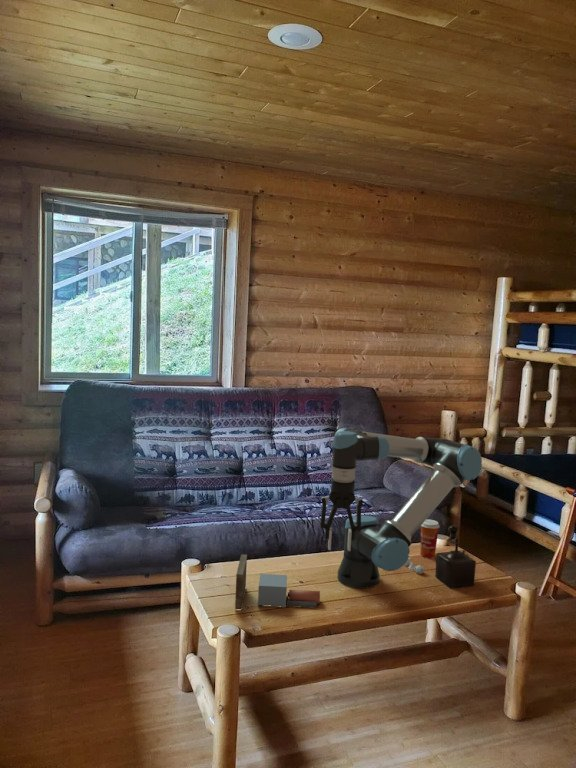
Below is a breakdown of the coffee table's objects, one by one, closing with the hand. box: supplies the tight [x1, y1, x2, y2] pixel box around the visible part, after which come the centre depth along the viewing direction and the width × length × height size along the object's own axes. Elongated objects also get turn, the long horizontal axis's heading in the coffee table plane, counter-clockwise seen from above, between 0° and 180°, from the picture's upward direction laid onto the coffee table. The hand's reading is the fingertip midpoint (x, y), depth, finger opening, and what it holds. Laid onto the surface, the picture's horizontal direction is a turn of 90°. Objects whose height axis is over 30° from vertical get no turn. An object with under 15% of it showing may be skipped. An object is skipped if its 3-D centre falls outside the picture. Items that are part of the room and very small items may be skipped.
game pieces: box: [402, 556, 425, 575], centre depth 226 cm, size 12×3×3 cm, turn 26°
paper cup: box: [420, 518, 441, 559], centre depth 239 cm, size 8×8×14 cm
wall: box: [234, 553, 248, 610], centre depth 194 cm, size 2×16×12 cm, turn 179°
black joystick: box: [434, 525, 477, 589], centre depth 218 cm, size 16×11×18 cm
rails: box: [286, 591, 318, 609], centre depth 194 cm, size 10×7×2 cm
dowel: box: [288, 589, 321, 605], centre depth 194 cm, size 10×4×4 cm, turn 89°
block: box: [257, 573, 288, 608], centre depth 194 cm, size 9×9×7 cm
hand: (339, 548), depth 192 cm, fingers open, 6 cm apart
